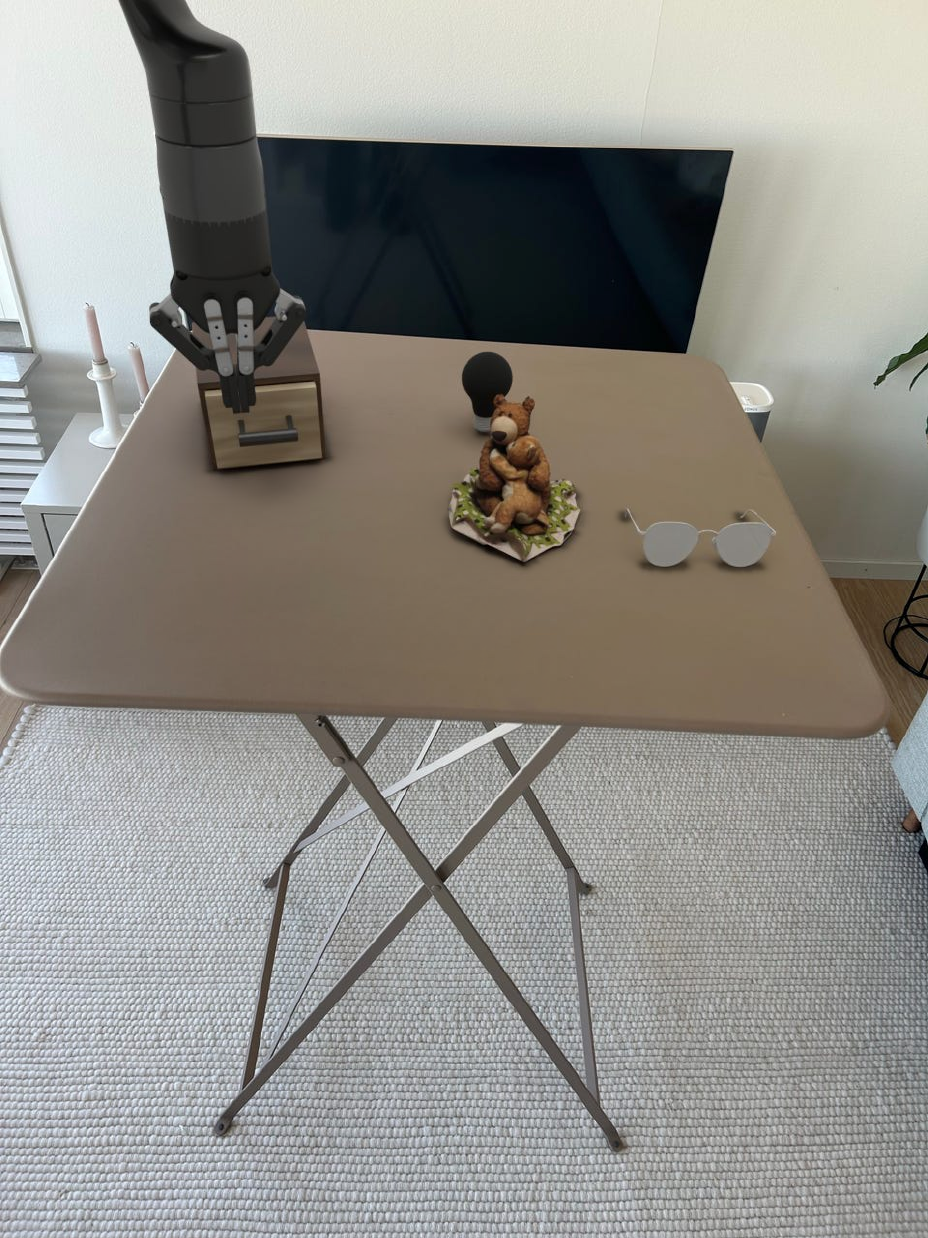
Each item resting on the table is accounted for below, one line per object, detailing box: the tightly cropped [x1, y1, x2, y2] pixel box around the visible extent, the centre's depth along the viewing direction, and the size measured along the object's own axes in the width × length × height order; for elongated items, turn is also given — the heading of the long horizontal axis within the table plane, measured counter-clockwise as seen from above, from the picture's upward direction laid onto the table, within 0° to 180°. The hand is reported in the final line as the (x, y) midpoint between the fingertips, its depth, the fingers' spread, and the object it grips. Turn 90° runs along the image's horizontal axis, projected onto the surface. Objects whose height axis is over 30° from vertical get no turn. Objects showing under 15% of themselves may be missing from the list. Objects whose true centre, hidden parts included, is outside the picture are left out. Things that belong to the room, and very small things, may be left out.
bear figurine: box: [447, 394, 581, 563], centre depth 90 cm, size 14×15×12 cm
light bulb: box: [461, 351, 514, 434], centre depth 103 cm, size 6×6×10 cm
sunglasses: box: [624, 508, 777, 568], centre depth 91 cm, size 14×8×5 cm, turn 93°
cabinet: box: [191, 316, 327, 471], centre depth 101 cm, size 15×13×11 cm
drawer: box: [205, 381, 322, 469], centre depth 98 cm, size 18×11×9 cm, turn 15°
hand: (240, 408), depth 77 cm, fingers closed
